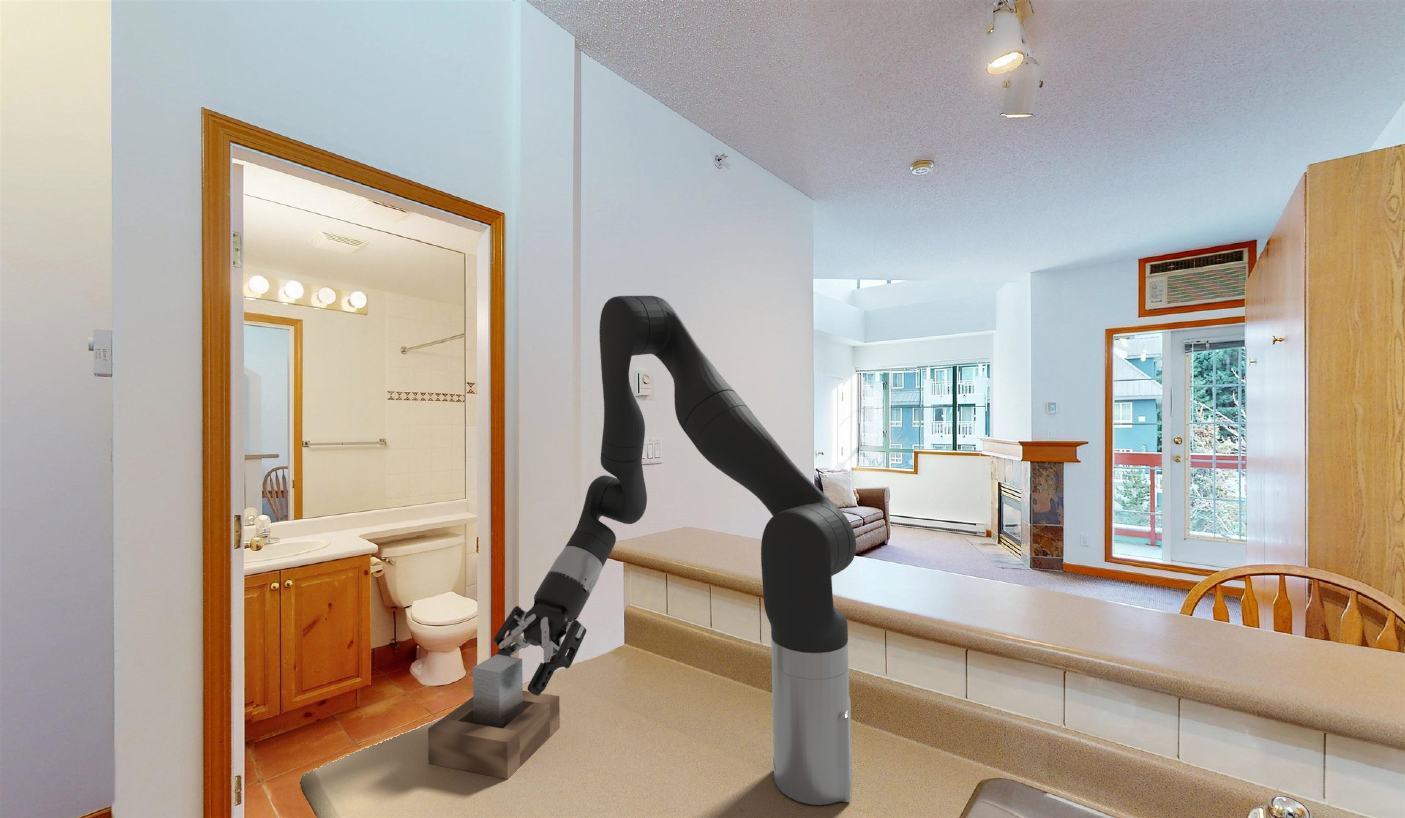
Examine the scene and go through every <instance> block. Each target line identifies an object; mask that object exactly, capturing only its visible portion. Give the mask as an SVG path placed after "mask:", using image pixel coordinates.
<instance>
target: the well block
mask: <svg viewBox="0 0 1405 818" xmlns="http://www.w3.org/2000/svg"><path fill="white" fill-rule="evenodd" d="M560 709H561V708H560V695H555V694H549V693H548V694H547V693H543V692H541V694H540V695H539V696H537V695H534V694H532V693H531V692H529V691H528V690H523V712H522V713H521V714H520V715H518V716H517V717H516V718H515V719H514V720H513V721H511V722H510V723H509V724H508V725H507V726H505V727H504V728H503V729H502V728H496V727H490V726H484V725H478V724H474V721H473V696H472V697H471V698H470V699H468V700H466V701H465V702H464V703H462V704H461V705H459V706H457V707H456V708H455V709H454V710H452V711H451V712H449V713H448V714H446V715H445V716H444V717H442V718H441V719H439V720H438V721H437V722H435V723H434V724H432V725H430V726H429V727H428V729H427V735H428V736H427V742H428V743H427V744H428V745H427V748H428V749H427V751H428V754H427V755H428V756H427V757H428V759H427V760H428V764H430V765H435V766H439V767H444V768H450V769H453V770H454V769H455V770H459V771H465V772H469V773H475V774H480V775H484V776H490V777H495V778H500V779H505V780H508V779H510V777H512V775H514V774H515V773H516V772H517V771H518V769H520V768H521V766H523V764H525V763H526V761H528V760H529V759H530V758H531V757H532V756H534V754H535V753H536V752H537V751H538V750H539V749H540V748H541V747H542V746H543V745H544V744H545V743H546V742H547V741H548V740H549V739H550V738H551V737H552V736H553V735H554V734H555V733H556V732H557V731H558V730H559V729H560V727H561V725H560V721H561V720H560V719H561V718H560Z"/></svg>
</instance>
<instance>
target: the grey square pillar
mask: <svg viewBox="0 0 1405 818" xmlns="http://www.w3.org/2000/svg"><path fill="white" fill-rule="evenodd" d="M523 681H524V680H523V658H520V657H519V658H518V657H513V656H511V657H509V656H504V655H498V654H497V653H496V654H495V655H493V656H491V657H490V658H487V659H485V660H484V661H482V662H480V663H478V664H477V665H475V666H473V667H472V695H473V696H472V697H473V721H474V724H478V725H484V726H490V727H496V728H502V729H503V728H504V727H505V726H507V725H508V724H509V723H510V722H511V721H513V720H514V719H515V718H516V717H517V716H518V715H520V714H521V713H522V712H523V691H524V690H523V688H524V687H523V685H524V684H523Z"/></svg>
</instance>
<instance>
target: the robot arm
mask: <svg viewBox="0 0 1405 818" xmlns="http://www.w3.org/2000/svg"><path fill="white" fill-rule="evenodd" d="M598 332H599V335H598V336H599V350H600V351H599V352H600V353H599V355H600V369H601V383H602V384H601V385H602V393H603V394H602V395H603V429H602V438H601V447H600V448H601V449H600V465H601V466H602V467H601V468H603V470H605V471H606V472H607V473H609V474H610V475H607V474H606V475H601V476H598V477H596V478H595V479H593V481H592V482H591V483H590V484H589V486H588V489H587V491H586V495H585V500H584V504H583V509H582V512H581V514H580V517H579V520H578V523H577V525H576V527H575V530H574V532H573V533H572V535H571V536H570V538H569V539H568V542H567V543H566V545H565V546H564V548H563V549H562V551H561V552H560V553H559V555H557V557H556V559H555V560H554V562H553V563H552V565H551V567H550V569H549V570H548V572H547V573H546V575H545V576H544V579H543V581H542V582H541V584H540V585H539V587H538V589H537V590H536V591H535V594H534V596H533V600H534V601H533V606H532V607H531V608H530V609H529V610H528V611H526V610H523V609H522V608H521V607H520V606H519V605H518V606H517V605H516V606H514V607H513V608H512V609H511V612H510V613H509V614H508V615H507V618H506V620H505V621H504V623H502V625H501V627H500V628H499V630H498V631H497V632H496V634H495V636H494V637H493V640H492V641H493V642H494V643H495V644H496V645H497V647H498V651H497V653H496V654H498V655H504V656H509V657H513V656H514V655H515V654H516V653H518V652H519V651H520V650H522V649H526V648H528V647H530V645H531V646H534V647H541V648H542V649H543V662H540V663H539V665H538V667H537V669H536V670H535V673H534V674H533V676H532V678H531V680H530V682H529V684H528V685H527V691H528V692H531V693H532V694H534V695H537V696H539V695H540V694H541V693H543V692H545V690H546V687H548V684H549V682H550V680H551V679H552V676H553V675H554V673H555V672H556V670H559V668H565V669H569V668H570V667H572V664H573V662H574V660H575V657H576V656H577V654H578V651H579V649H580V647H581V645H582V642H583V640H584V638H585V635H586V634H587V628H586V627H585V626H584V625H583V624H582V623H581V622H580V621H579V620H578V619H579V617H580V614H581V612H582V611H583V609H584V607H585V606H586V604H587V602H588V600H589V597H590V596H591V594H592V592H593V590H594V588H595V586H596V584H597V582H598V580H599V578H600V576H601V572H602V569H603V568H604V566H605V564H606V562H607V560H608V558H609V556H610V554H612V551H613V550H614V547H615V545H616V543H617V537H616V534H615V532H614V531H613V530H612V529H611V528H610V527H609V526H607V524H605V523H603V522H602V521H601V520H600V518H601V517H604V518H607V519H610V520H613V521H616V522H619V523H621V524H625V525H633V524H636V523H638V521H640V519H642V517H643V516H644V514H645V512H646V508H647V503H648V494H647V493H648V492H647V486H646V481H645V477H644V470H643V453H644V444H645V436H646V423H645V419H644V418H645V417H644V415H643V412H642V410H641V408H640V405H639V403H638V402H637V399H636V397H635V395H634V392H633V389H632V387H631V386H632V385H631V383H630V382H631V381H630V367H631V360H632V357H633V356H634V357H635V356H642V355H644V356H645V355H653V356H655V357H656V358H657V359H658V360H659V361H660V362H661V363H662V364H663V366H664V367H665V368H666V370H667V371H668V372H669V373H670V375H671V378H672V379H673V388H674V391H673V392H674V398H673V399H674V411H675V416H676V419H677V422H678V423H679V426H680V427H681V429H682V430H683V432H684V433H685V435H686V436H687V437H688V439H689V440H690V441H691V443H692V444H693V446H695V448H696V450H697V451H698V452H699V453H700V454H701V455H702V456H703V457H704V459H706V461H708V462H709V463H710V464H711V465H712V466H713V467H715V468H716V469H718V470H719V471H720V472H722V473H723V474H725V475H726V476H727V477H729V478H730V479H732V480H733V481H735V482H737V483H738V484H739V485H741V486H742V487H743V488H745V489H746V490H748V491H749V492H750V493H752V494H753V496H755V497H756V498H757V499H758V500H759V501H760V502H761V503H762V504H763V505H764V506H765V508H766V509H767V510H768V512H769V513H770V514H771V516H772V517H771V518H770V519H769V520H768V521H767V522H766V525H765V527H764V529H763V532H762V536H761V544H760V545H761V546H760V562H761V565H760V566H761V579H762V593H763V604H764V611H765V614H766V616H767V619H768V621H769V624H770V634H771V635H770V637H771V638H770V639H771V641H770V644H771V687H772V688H771V693H772V694H771V695H772V699H771V700H772V743H773V747H772V748H773V750H772V751H773V757H772V762H773V765H772V766H773V779H774V783H775V784H776V786H777V788H778V789H779V791H780V792H781V793H783V794H784V795H785V796H787V798H790V799H792V800H794V801H796V802H799V803H803V804H808V805H814V806H816V805H817V806H823V805H825V806H826V805H830V804H834V803H838V802H843V803H844V802H845V803H850V802H851V797H852V796H851V793H852V792H851V791H852V779H853V758H852V757H853V755H852V751H853V750H852V715H851V713H852V711H851V710H852V708H851V705H852V704H851V695H850V676H849V675H850V673H849V667H850V666H849V630H848V628H849V627H848V626H849V625H848V620H847V617H846V616H845V614H844V613H843V612H842V611H841V610H839V609H837V608H835V607H834V599H833V597H834V596H833V580H832V578H833V576H834V575H838V574H839V573H841V572H842V571H844V570H845V569H847V568H848V567H849V566H850V564H852V562H853V561H854V559H855V556H856V552H857V539H856V538H857V537H856V534H855V532H854V529H853V526H852V524H851V522H850V521H849V519H848V518H847V516H846V515H845V513H844V512H842V511H841V509H840V508H839V507H838V506H837V505H836V504H835V503H834V502H833V500H831V499H830V498H829V497H828V496H827V495H825V494H824V492H823V491H822V490H820V488H819V487H818V486H816V485H815V483H814V482H812V481H811V479H809V477H807V476H806V475H805V474H804V473H803V472H802V471H801V470H800V468H798V467H797V466H796V465H797V464H796V465H795V463H794V462H793V461H792V460H791V458H790V457H789V456H788V454H786V453H785V451H784V450H783V448H782V447H781V446H780V445H779V443H778V442H777V441H776V440H775V439H774V437H773V436H772V435H771V434H770V433H769V431H768V430H767V429H766V428H765V427H764V426H763V424H762V423H761V422H760V420H759V419H758V418H757V417H756V416H755V414H754V413H753V412H752V410H751V409H750V408H749V406H747V404H746V403H745V401H743V399H742V397H740V395H739V394H738V393H737V392H736V391H735V390H734V389H733V387H732V386H730V384H729V383H728V382H727V381H726V379H724V376H722V375H721V373H719V372H720V371H718V370H717V369H716V367H715V366H714V365H713V364H712V362H711V361H710V359H709V358H708V357H707V356H706V354H705V353H704V352H703V351H702V349H701V348H700V347H699V345H698V344H697V342H696V341H695V340H694V338H693V337H692V335H691V333H690V332H689V330H688V328H687V327H686V325H685V324H684V322H683V321H682V319H681V317H680V316H679V315H678V313H677V312H676V311H675V309H674V308H673V307H672V306H671V305H670V303H669V302H667V301H666V300H665V299H664V298H662V297H659V296H656V295H617V296H613V297H610V298H609V299H608V300H607V301H606V302H605V303H604V305H603V306H602V310H601V313H600V320H599V331H598ZM611 475H612V476H611ZM613 476H614V477H613ZM507 632H508V633H507ZM505 635H506V636H505ZM563 637H564V638H563ZM562 638H563V640H562Z"/></svg>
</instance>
